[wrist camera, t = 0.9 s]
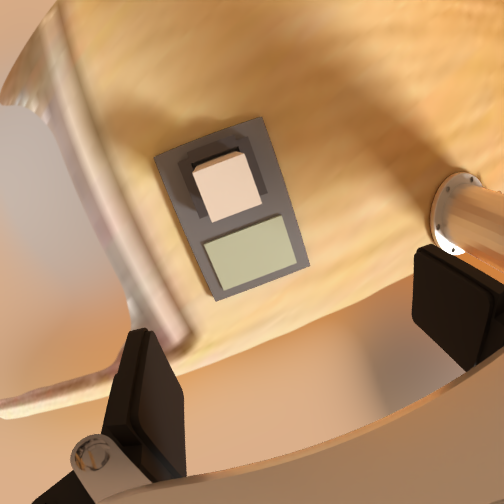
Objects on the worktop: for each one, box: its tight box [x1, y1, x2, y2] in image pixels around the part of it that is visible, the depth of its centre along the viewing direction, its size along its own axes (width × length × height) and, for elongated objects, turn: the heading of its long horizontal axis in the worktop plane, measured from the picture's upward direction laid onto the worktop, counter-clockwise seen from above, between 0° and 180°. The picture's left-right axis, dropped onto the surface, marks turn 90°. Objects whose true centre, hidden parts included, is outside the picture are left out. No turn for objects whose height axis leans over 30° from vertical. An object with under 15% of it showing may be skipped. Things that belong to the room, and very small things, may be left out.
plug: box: [193, 151, 262, 223], centre depth 27 cm, size 4×4×10 cm
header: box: [154, 117, 310, 301], centre depth 33 cm, size 12×18×4 cm, turn 19°
